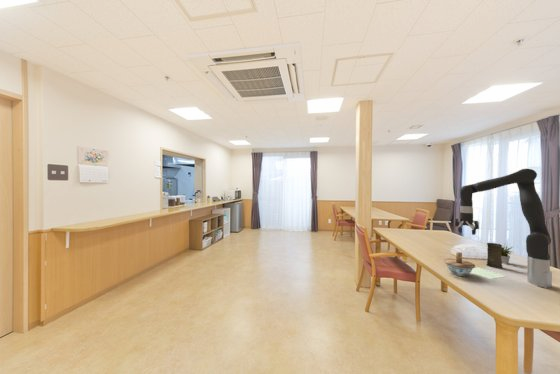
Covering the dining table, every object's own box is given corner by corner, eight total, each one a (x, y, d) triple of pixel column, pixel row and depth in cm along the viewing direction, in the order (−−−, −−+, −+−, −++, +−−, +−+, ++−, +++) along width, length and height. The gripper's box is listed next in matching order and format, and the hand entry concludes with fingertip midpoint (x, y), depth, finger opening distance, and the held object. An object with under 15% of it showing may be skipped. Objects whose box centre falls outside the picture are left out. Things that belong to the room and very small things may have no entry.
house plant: (486, 260, 181) (486, 241, 181) (494, 258, 186) (493, 239, 186) (509, 266, 168) (509, 245, 168) (517, 263, 174) (517, 243, 173)
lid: (481, 267, 147) (481, 255, 147) (463, 269, 143) (463, 257, 142) (454, 258, 164) (454, 248, 164) (438, 261, 159) (438, 250, 159)
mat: (506, 276, 149) (506, 276, 149) (490, 280, 144) (490, 279, 144) (477, 267, 165) (477, 267, 165) (462, 270, 160) (462, 269, 160)
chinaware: (478, 280, 144) (478, 268, 144) (453, 278, 147) (453, 267, 147) (464, 271, 159) (464, 261, 159) (441, 269, 162) (441, 259, 162)
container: (504, 270, 161) (504, 246, 161) (487, 267, 166) (487, 244, 166) (501, 266, 168) (501, 243, 168) (485, 264, 173) (485, 242, 173)
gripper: (481, 212, 156) (481, 235, 156) (459, 210, 169) (459, 231, 169) (474, 213, 153) (474, 235, 153) (452, 211, 167) (453, 232, 167)
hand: (466, 233), depth 161 cm, fingers open, 8 cm apart
